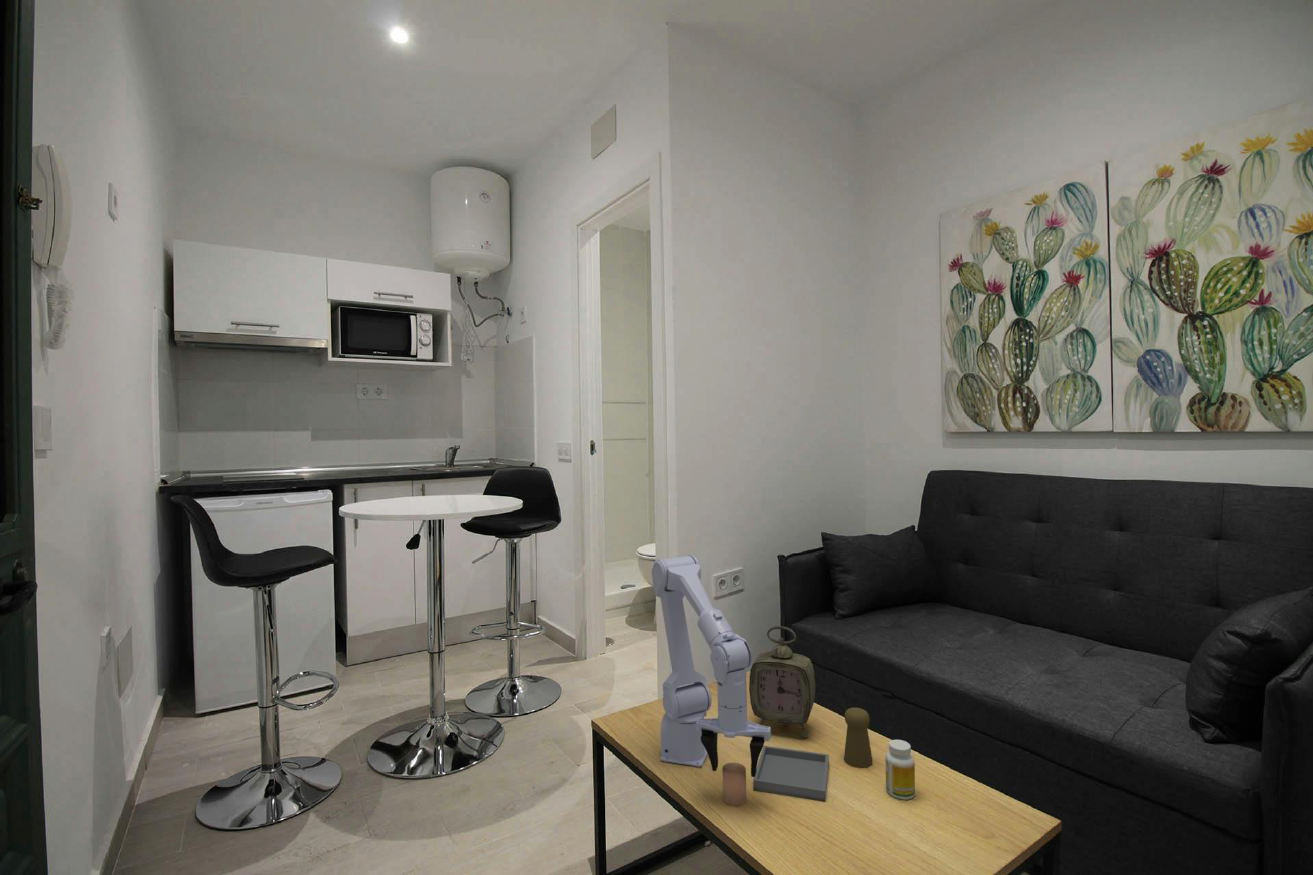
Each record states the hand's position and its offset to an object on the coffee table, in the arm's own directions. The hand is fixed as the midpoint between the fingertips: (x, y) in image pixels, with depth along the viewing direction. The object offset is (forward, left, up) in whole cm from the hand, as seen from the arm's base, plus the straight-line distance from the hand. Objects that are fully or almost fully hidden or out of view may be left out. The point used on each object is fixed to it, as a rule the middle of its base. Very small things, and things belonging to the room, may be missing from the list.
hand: (734, 771), depth 120 cm
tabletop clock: (+6, +31, -6) cm, 32 cm away
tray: (+10, +11, -6) cm, 16 cm away
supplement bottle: (+31, +11, -6) cm, 33 cm away
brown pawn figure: (+23, +21, -6) cm, 32 cm away
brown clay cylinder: (0, 0, -6) cm, 6 cm away
